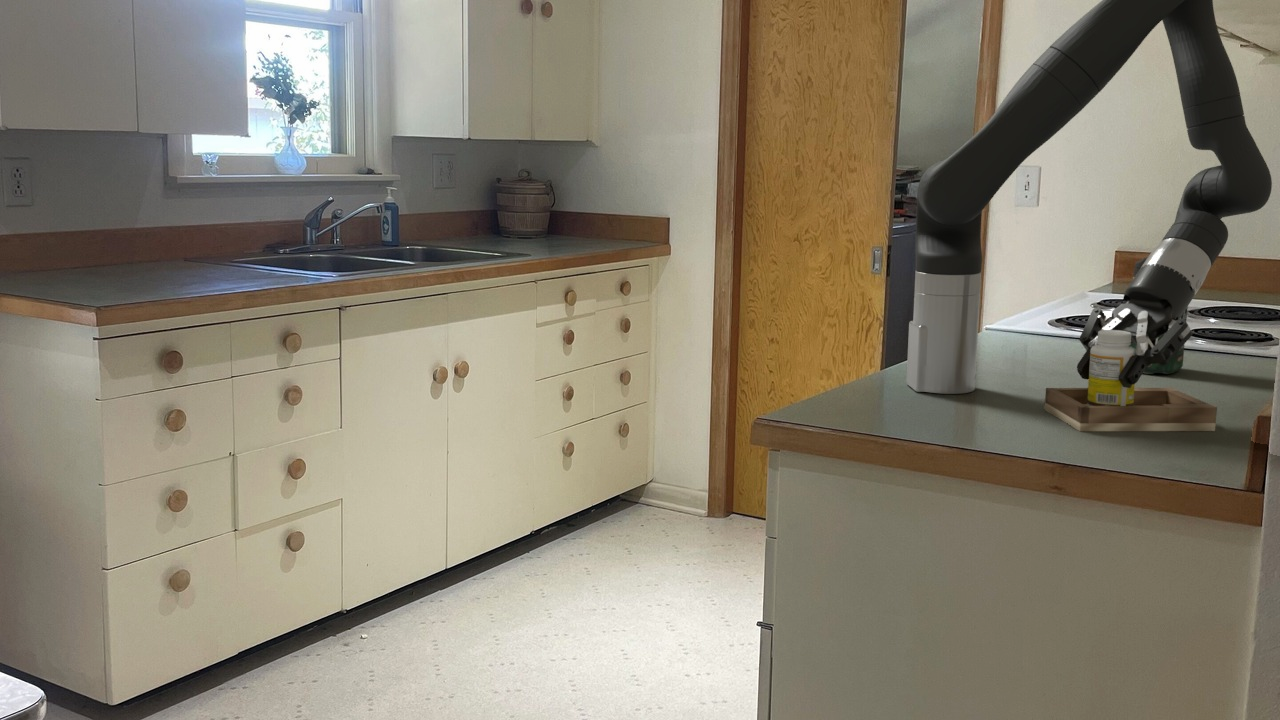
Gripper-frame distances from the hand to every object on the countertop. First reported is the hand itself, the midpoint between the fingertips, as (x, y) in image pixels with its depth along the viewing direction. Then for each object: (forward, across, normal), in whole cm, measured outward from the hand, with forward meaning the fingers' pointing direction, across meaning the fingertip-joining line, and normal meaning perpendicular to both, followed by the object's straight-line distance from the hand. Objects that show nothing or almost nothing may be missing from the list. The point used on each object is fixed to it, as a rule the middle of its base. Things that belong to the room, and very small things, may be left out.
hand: (1102, 379), depth 145 cm
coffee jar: (-22, -18, +31) cm, 42 cm away
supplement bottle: (+2, 0, +4) cm, 5 cm away
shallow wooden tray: (+1, +1, +7) cm, 7 cm away
